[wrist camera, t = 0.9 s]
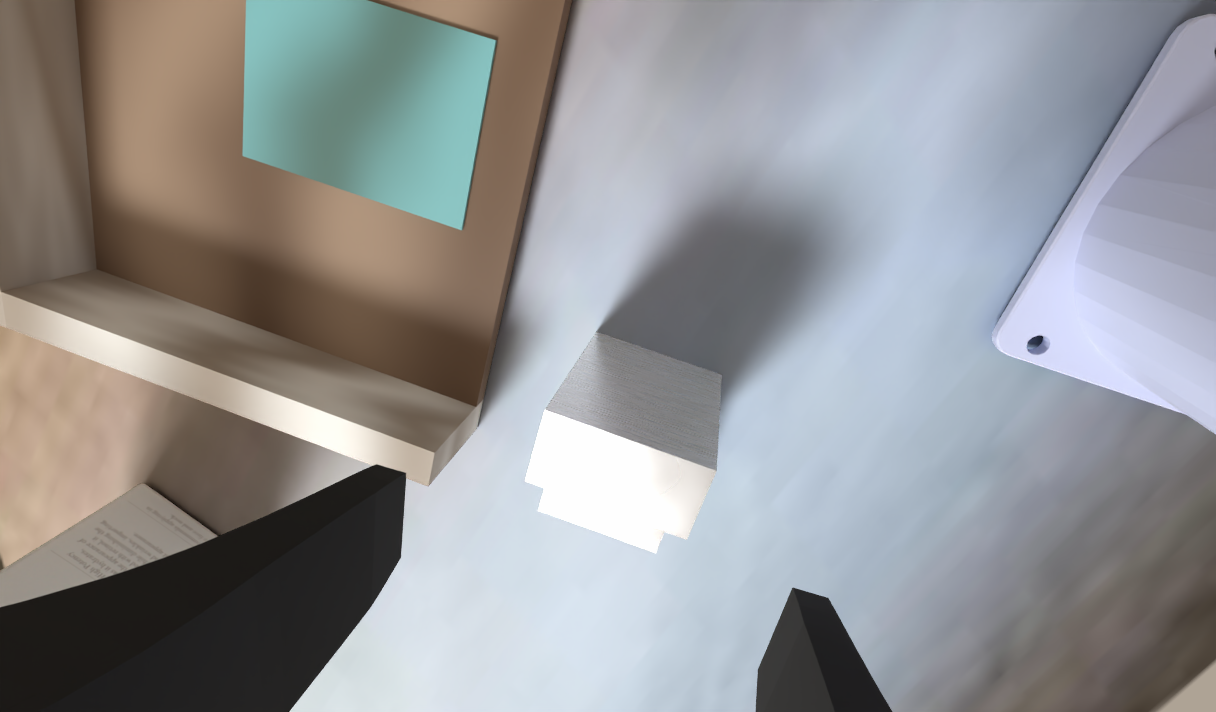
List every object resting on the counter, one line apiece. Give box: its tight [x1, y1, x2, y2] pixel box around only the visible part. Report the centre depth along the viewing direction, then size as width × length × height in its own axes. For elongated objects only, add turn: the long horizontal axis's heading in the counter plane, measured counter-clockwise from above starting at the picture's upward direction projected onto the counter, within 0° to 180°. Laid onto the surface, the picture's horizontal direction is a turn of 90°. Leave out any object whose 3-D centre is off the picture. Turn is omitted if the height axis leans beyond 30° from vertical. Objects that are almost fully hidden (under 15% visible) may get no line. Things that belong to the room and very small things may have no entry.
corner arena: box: [0, 0, 572, 486], centre depth 16 cm, size 15×15×4 cm
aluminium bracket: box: [525, 331, 722, 553], centre depth 17 cm, size 4×6×6 cm, turn 164°
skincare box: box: [0, 483, 218, 607], centre depth 20 cm, size 6×4×12 cm
